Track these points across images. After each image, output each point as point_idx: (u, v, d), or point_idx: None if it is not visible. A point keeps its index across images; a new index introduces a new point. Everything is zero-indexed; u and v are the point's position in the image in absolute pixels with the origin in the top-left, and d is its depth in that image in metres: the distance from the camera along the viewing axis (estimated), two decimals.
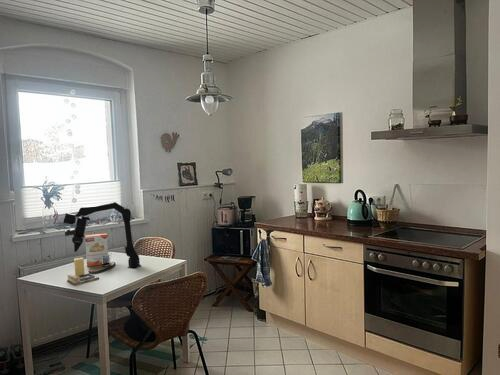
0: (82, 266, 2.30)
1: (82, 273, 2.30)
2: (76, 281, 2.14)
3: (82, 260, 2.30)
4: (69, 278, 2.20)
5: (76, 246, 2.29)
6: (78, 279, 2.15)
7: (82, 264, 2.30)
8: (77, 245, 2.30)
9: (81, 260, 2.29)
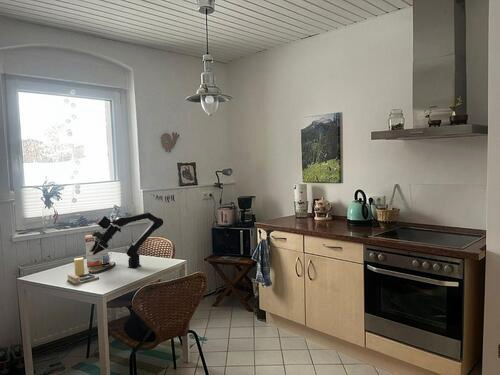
0: (82, 266, 2.30)
1: (82, 273, 2.30)
2: (76, 281, 2.14)
3: (82, 260, 2.30)
4: (69, 278, 2.20)
5: (97, 250, 2.31)
6: (78, 279, 2.15)
7: (82, 264, 2.30)
8: (98, 249, 2.31)
9: (81, 260, 2.29)
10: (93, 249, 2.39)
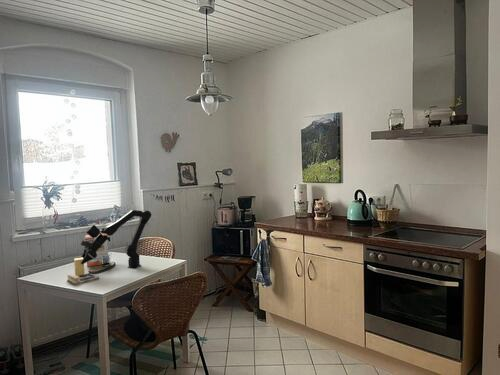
0: (82, 266, 2.30)
1: (82, 273, 2.30)
2: (76, 281, 2.14)
3: (82, 260, 2.30)
4: (69, 278, 2.20)
5: (85, 259, 2.28)
6: (78, 279, 2.15)
7: (82, 264, 2.30)
8: (87, 259, 2.28)
9: (81, 260, 2.29)
10: None
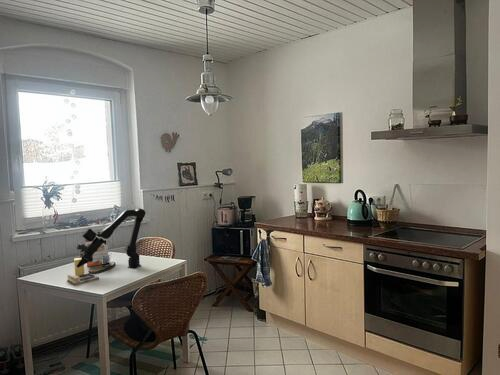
0: (82, 266, 2.30)
1: (82, 273, 2.30)
2: (76, 281, 2.14)
3: None
4: (69, 278, 2.20)
5: (81, 262, 2.28)
6: (78, 279, 2.15)
7: None
8: (83, 262, 2.29)
9: None
10: None
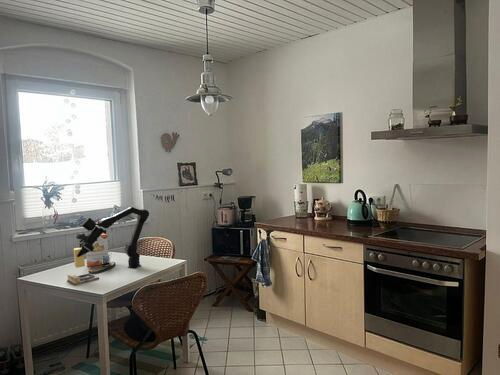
0: (82, 256, 2.28)
1: (82, 263, 2.28)
2: (76, 281, 2.14)
3: None
4: (69, 278, 2.20)
5: (81, 252, 2.26)
6: (78, 279, 2.15)
7: None
8: (83, 251, 2.27)
9: None
10: None
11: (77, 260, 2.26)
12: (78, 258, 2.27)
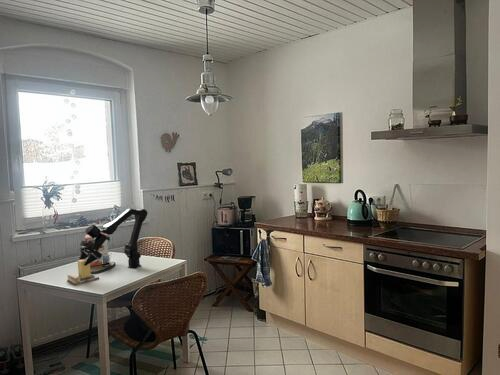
0: (88, 267, 2.23)
1: (88, 274, 2.23)
2: (76, 281, 2.14)
3: None
4: (69, 278, 2.20)
5: (89, 260, 2.20)
6: (78, 279, 2.15)
7: (88, 265, 2.23)
8: (90, 259, 2.21)
9: None
10: None
11: (83, 272, 2.20)
12: (84, 270, 2.21)
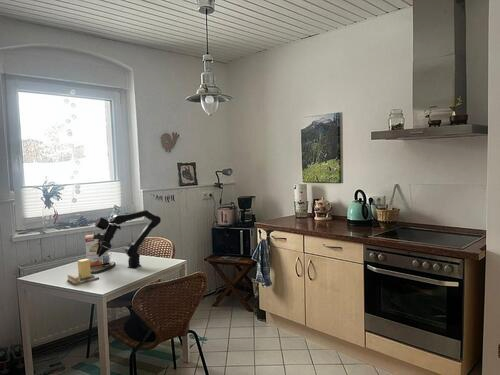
0: (88, 267, 2.23)
1: (88, 274, 2.23)
2: (76, 281, 2.14)
3: (88, 261, 2.22)
4: (69, 278, 2.20)
5: (101, 251, 2.31)
6: (78, 279, 2.15)
7: (88, 265, 2.23)
8: (103, 250, 2.31)
9: (87, 261, 2.22)
10: (98, 251, 2.39)
11: (83, 272, 2.20)
12: (84, 270, 2.21)
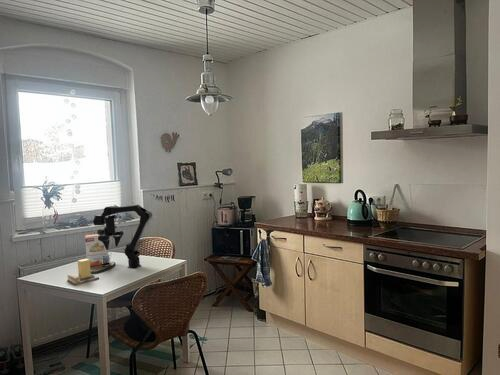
0: (88, 267, 2.23)
1: (88, 274, 2.23)
2: (76, 281, 2.14)
3: (88, 261, 2.22)
4: (69, 278, 2.20)
5: (105, 244, 2.42)
6: (78, 279, 2.15)
7: (88, 265, 2.23)
8: (106, 243, 2.42)
9: (87, 261, 2.22)
10: (116, 244, 2.52)
11: (83, 272, 2.20)
12: (84, 270, 2.21)
